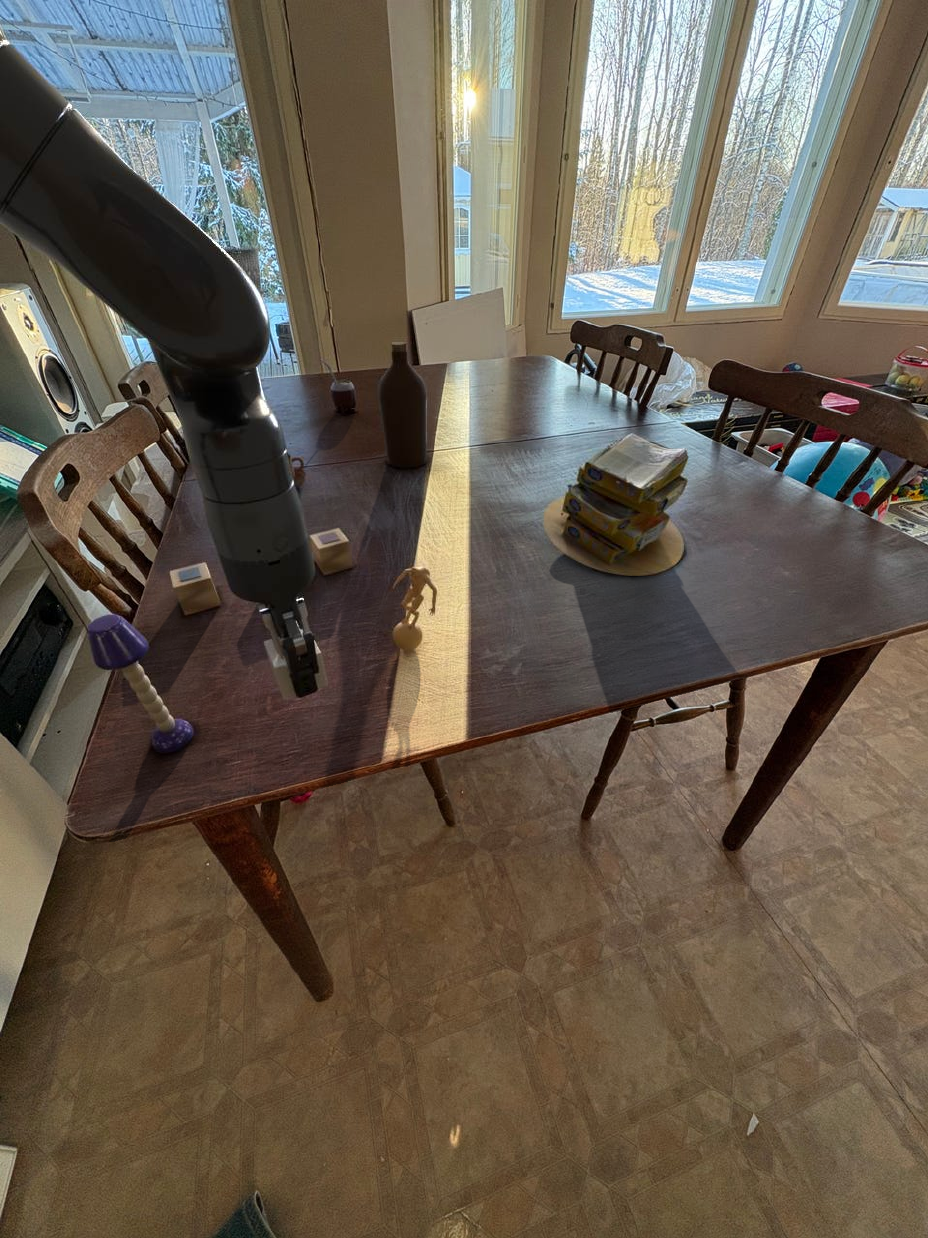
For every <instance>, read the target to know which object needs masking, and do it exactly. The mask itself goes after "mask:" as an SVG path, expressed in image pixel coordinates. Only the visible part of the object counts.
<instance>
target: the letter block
mask: <svg viewBox="0 0 928 1238" xmlns="http://www.w3.org/2000/svg"><path fill="white" fill-rule="evenodd" d="M301 633H303V630H302V629H301ZM278 638H279V637H278ZM289 638H290V637H289ZM283 639H284V638H281V639H280V638H279V641H280V642H283V641H282V640H283ZM285 639H286V638H285ZM314 642H315V649H316V655H317V662H318V666H319V673H317V674H315V679H316V683H317V687H318V690H319V689H321V688H324V687H327V686H328V685H329V682H328V677H327V674H326V669H325V666H324V660H323V654H322V652H321V650H320V648H319V647H318V644H317V642H316V641H315V640H314ZM263 645H264V648H265V652H266V654H267V655H266V656H267V658H268V661H269V664H270V668H271V671H272V674H273V677H274V678H275V682H276V684H277V686H278V689H279V691H280V694H281V696H282V698H283V701H284V702H286V701H289V700H291V699H294V698H298V697H297V696H296V694H295V691H294V688H293V684H292V681H291V678H290V676H289V672H287V671H286V668H285V667H287V666H286V663H285V660H284V657H283V655H279V654H278V653H277V651H276V649H275V647H274V644H273V641H272V638H271V639H268V640H264V641H263Z"/></svg>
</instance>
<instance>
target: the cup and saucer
mask: <svg viewBox="0 0 928 1238" xmlns="http://www.w3.org/2000/svg"><path fill="white" fill-rule="evenodd" d="M288 456H289V461H290V466H291V471H292V475H293V480H294V484H295V487H296V489H298V488H299V487H301V486H302V485H303V484H304V483H305V482H306V480H307V478H308V477H307V473H306V472H305V471H304V470H303V468H304V466H305V462H304V460H303V459H302V458H301V457H299V456H297V457H296V456H295V457H292V456H291V454H290V453H288ZM297 461H298V462H300V466H299V467H294V464H293V463H294V462H297Z"/></svg>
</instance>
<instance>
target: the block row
mask: <svg viewBox="0 0 928 1238" xmlns="http://www.w3.org/2000/svg"><path fill="white" fill-rule="evenodd" d="M309 541H310V546H311V550H312V555H313V560H314V563H315V564H316V565H317V567H318V568H319V570H320V572H321V573H322V574H323V576H328V575H330V574H334V573H338V572H341V571H345V570H348V569H352V568H354V563H353V558H352V550H351V545H350V540H349V539H348V538H347V536H346V535H345V534H344V533H343V532H342V530H341V529H340V528H339V527H337V528H333V529H330V530H325V531H322V532H318V533H314V534H310V535H309ZM169 575H170V576H169V577H170V581H171V585H172V589H173V591H174V593H175V595H176V598H177V600H178V603H179V604H180V607H181V609H182V611H183V614H184V616H189V615H193V614H195V613H199V612H203V611H207V610H209V609H214V608H217V607H220V606H222V603H221V601H220V598H219V594H218V592H217V589H216V587H215V584H214V581H213V579H212V576H211V573H210V570H209V569H208V565H207V562H205V561H204V562H200V563H197V564H192V565H188V566H185V567H181V568H176V569H173V570H169Z"/></svg>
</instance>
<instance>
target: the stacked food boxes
mask: <svg viewBox="0 0 928 1238" xmlns="http://www.w3.org/2000/svg"><path fill="white" fill-rule="evenodd" d="M614 444H615V445H614ZM688 460H689V455H688V451H687V449H686V448H676V449H675V448H673V449H672V448H670V447H667V446H665V445H663V444H660V443H658V442H655V441H651V440H649V439H646V438H645V437H641V436H639V435H637V434H635V433H634V432H632V433H629V434H627V436H625V437H623V438H621V439H619V440H616V441H613V442H612V443H609V444H608V445H607V446H606V448H604V449H603V450H602V451H599V452H597V453H596V454H595V455H593V456H591V457H589V458H587V460H586V461H585V463H584V464H582V465H580V466H579V467H578V468H579V469H578V472H577V471H575V474H577V476H576V482H577V483H576V484H574V485H572V484H566V486H567V488H568V490H567V492H565V494H564V495H562V496H560V497H557V498H556V499H554V500H553V501H552V502H550V503H549V504H548V506H546V507H545V510H544V513H543V515H542V525H543V530H544V531H545V534H546V536H547V537H548V539H549V540H550V541H551V542H552V544H554V546H556V548H558V550H560V551H561V552H562V553H563V554H565V555H566V556H568V557H569V558H570V559H573V560H574V561H576V562H578V563H580V564H583V565H584V566H587V567H589V568H591V569H595V570H597V571H600V572H605V573H610V574H614V575H620V576H628V577H629V576H631V577H636V576H638V577H640V576H650V575H656V574H659V573H662V572H665V571H667V570H669V569H671V568H672V567H674V566H675V565H676V564H677V563H678V562H679V561H680V560H681V558H682V557H683V554H684V550H685V543H684V539H683V536H682V534H681V532H680V530H679V529H678V527H677V526H676V525H675V524H674V523H673V522H672V521H671V520H670V518H671V517H670V515H669V514H668V513H667V512H665V511H666V510H668V509H669V508H671V506H673V505H674V504H675V503H676V502H677V501H678V500H679V499H680V496H682V495H683V494H684V491H685V489H686V487H687V485H688V482H689V480H688V478H686V477H683V476H682V474H683V473H684V470H685V468H686V466H687V463H688Z"/></svg>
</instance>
